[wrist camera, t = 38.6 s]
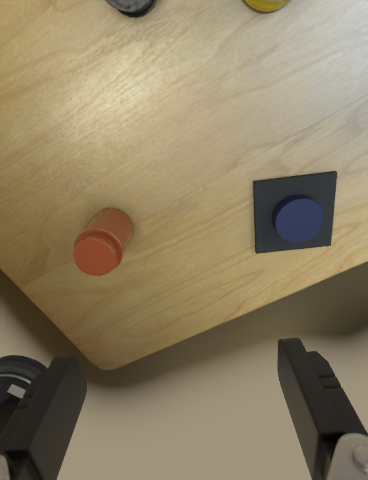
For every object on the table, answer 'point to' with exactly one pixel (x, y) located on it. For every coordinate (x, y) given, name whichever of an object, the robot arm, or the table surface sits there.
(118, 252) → the jar
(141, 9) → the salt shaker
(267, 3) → the pill bottle
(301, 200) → the jar lid
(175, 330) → the table surface
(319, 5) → the table surface
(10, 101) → the table surface
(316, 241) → the coaster
